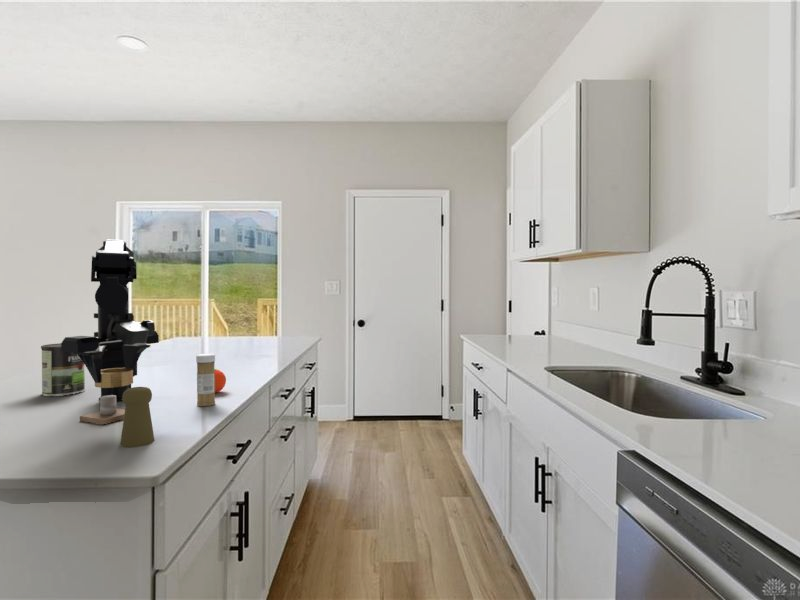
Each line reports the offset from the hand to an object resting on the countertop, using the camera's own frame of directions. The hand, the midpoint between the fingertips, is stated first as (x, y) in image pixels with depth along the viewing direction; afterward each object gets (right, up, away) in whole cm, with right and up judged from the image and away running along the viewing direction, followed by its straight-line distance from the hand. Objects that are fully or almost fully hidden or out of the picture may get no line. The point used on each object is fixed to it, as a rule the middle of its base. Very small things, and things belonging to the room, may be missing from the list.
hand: (114, 379), depth 101 cm
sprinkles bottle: (+11, -11, +21) cm, 26 cm away
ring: (0, -1, 0) cm, 1 cm away
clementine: (+8, -10, +35) cm, 38 cm away
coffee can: (-35, -10, +33) cm, 50 cm away
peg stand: (-6, -11, +7) cm, 14 cm away
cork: (+10, -11, -9) cm, 17 cm away
